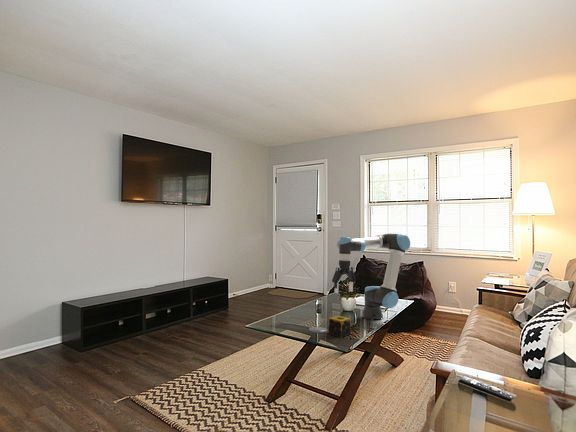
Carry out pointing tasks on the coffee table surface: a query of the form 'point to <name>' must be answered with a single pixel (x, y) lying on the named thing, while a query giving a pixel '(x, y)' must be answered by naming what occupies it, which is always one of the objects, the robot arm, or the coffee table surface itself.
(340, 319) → the candle
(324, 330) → the coaster
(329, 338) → the coffee table surface
